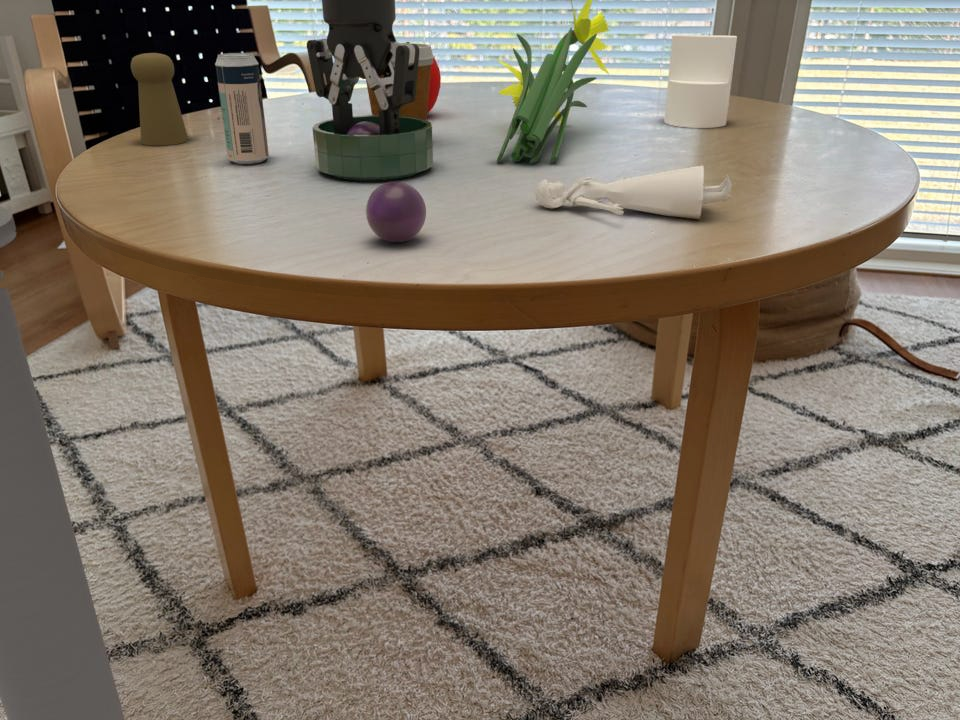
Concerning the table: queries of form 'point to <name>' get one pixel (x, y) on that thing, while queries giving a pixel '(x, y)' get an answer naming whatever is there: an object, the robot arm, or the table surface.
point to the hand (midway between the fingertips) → (367, 140)
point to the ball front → (396, 211)
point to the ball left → (364, 129)
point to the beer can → (242, 107)
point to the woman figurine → (641, 193)
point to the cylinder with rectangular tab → (699, 80)
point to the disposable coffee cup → (422, 87)
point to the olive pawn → (158, 100)
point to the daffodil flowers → (550, 87)
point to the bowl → (374, 150)
